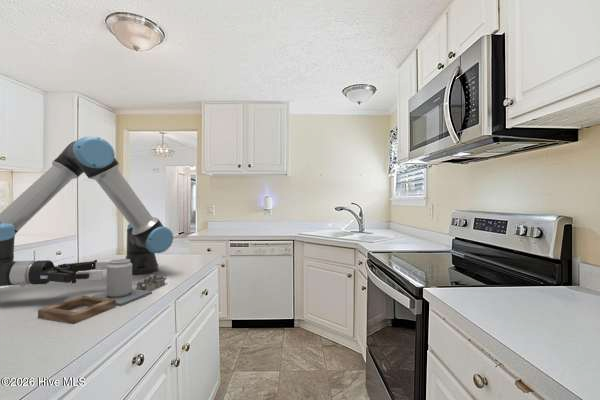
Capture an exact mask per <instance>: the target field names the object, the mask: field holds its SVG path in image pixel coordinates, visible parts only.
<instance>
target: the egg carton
mask: <svg viewBox="0 0 600 400" xmlns="http://www.w3.org/2000/svg"><path fill="white" fill-rule="evenodd" d="M166 280H167V276H166V277H164V276H162V275H154V274H150V275H148V276H146V277H143V278H142V279H138V280H135V282H134V284H135V285H136V290H144V291H154V290H155V289H157V288H160V287H161V286H165V284H166Z"/></svg>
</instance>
